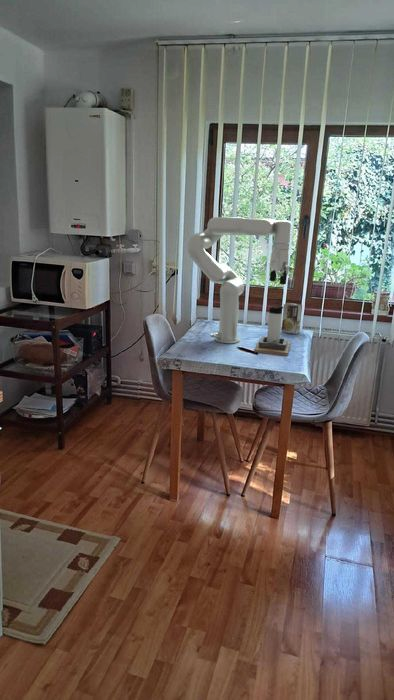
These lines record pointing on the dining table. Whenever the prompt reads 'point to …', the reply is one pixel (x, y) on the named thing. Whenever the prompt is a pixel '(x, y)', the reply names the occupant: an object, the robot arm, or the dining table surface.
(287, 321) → the coffee box
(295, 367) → the dining table surface
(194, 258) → the robot arm
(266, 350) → the pocket board
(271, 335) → the travel mug
